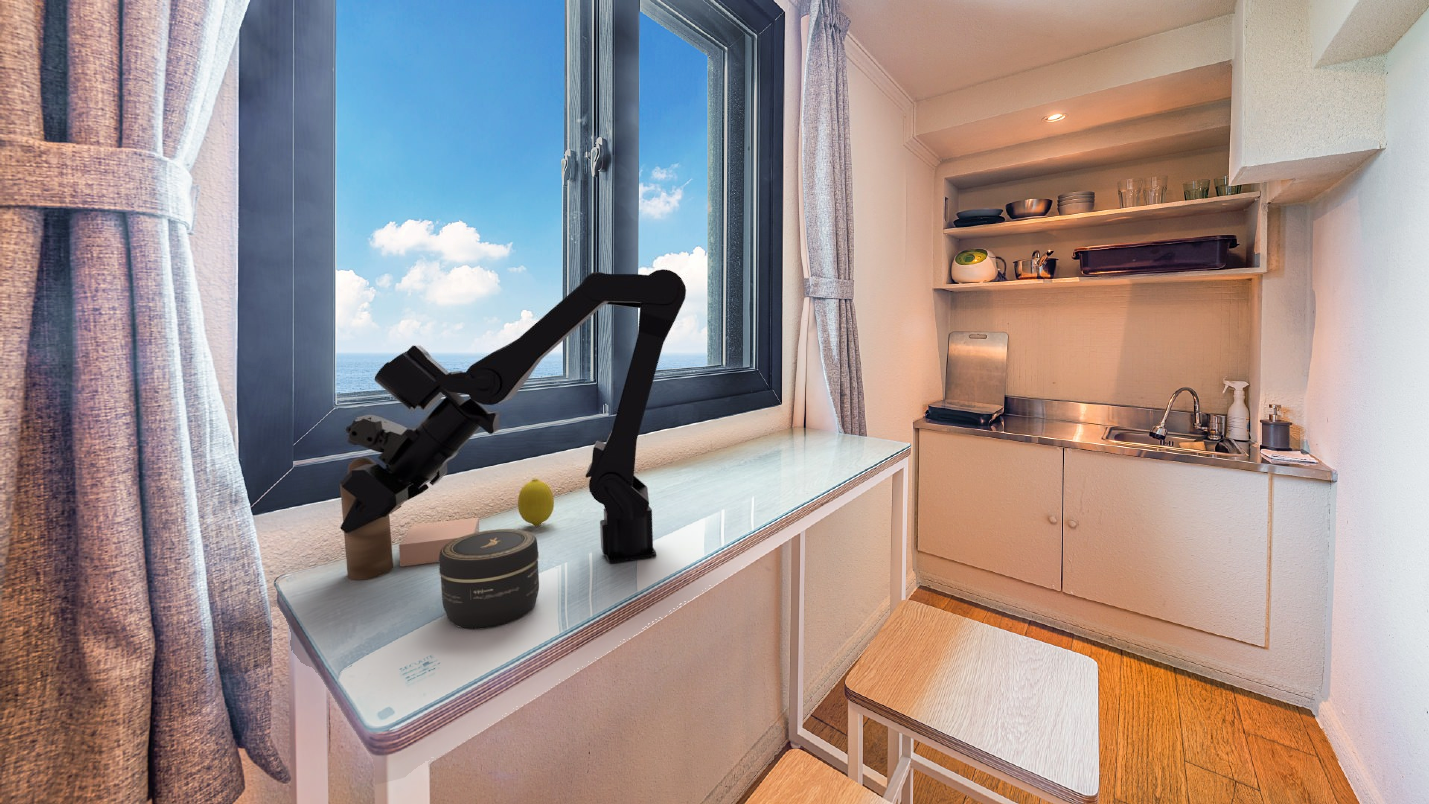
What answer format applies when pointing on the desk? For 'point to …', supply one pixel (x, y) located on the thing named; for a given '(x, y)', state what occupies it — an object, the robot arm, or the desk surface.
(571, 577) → the desk surface
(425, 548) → the pink block base
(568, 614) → the desk surface
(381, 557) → the pepper mill
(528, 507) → the lemon
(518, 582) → the jar
